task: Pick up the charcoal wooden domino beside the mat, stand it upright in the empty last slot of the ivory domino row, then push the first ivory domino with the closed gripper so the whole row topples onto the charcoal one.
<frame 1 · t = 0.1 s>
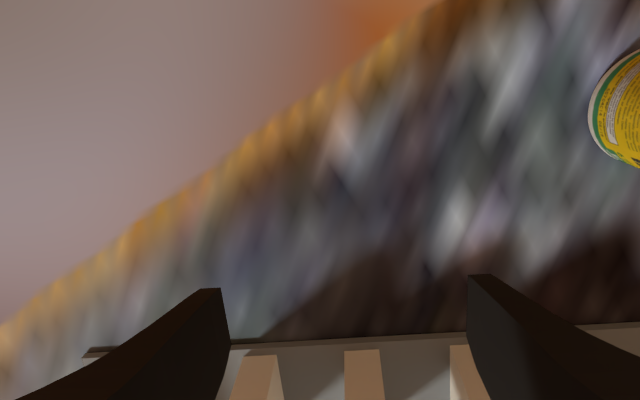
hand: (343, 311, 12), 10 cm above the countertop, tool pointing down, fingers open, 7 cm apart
domino 2: (467, 379, 24), resting on mat
domino 3: (364, 384, 25), resting on mat
domino 4: (266, 389, 25), resting on mat
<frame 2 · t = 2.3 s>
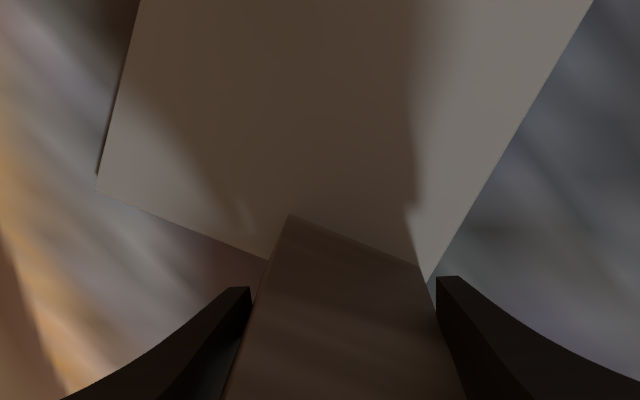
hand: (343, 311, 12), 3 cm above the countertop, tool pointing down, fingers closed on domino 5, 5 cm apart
domino 5: (343, 263, 15), resting on mat, touching gripper
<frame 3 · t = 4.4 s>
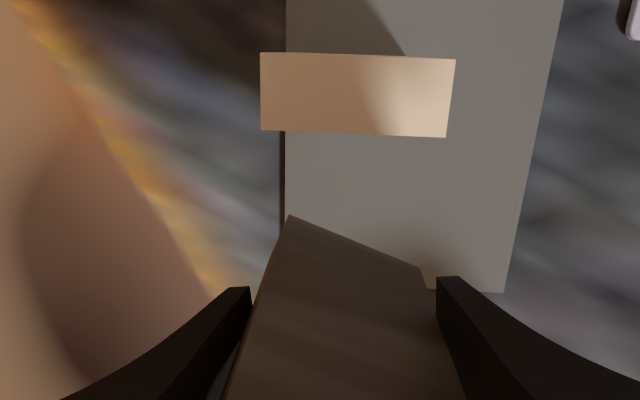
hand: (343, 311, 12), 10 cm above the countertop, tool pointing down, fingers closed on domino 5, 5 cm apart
domino 5: (343, 264, 15), point 7 cm above the countertop, touching gripper
domino 4: (349, 77, 19), resting on mat
when the fingers open (4 cm above the countertop, at t = 6.4 s): domino 5 stays where it is, resting on mat.
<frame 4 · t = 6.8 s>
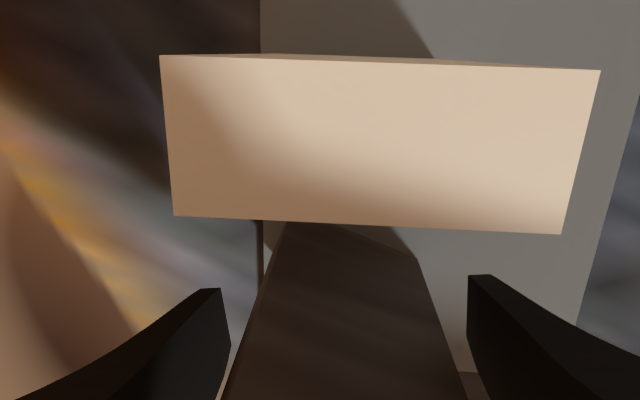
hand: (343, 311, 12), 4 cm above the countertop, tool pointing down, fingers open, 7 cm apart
domino 5: (344, 255, 16), resting on mat
domino 4: (352, 88, 14), resting on mat
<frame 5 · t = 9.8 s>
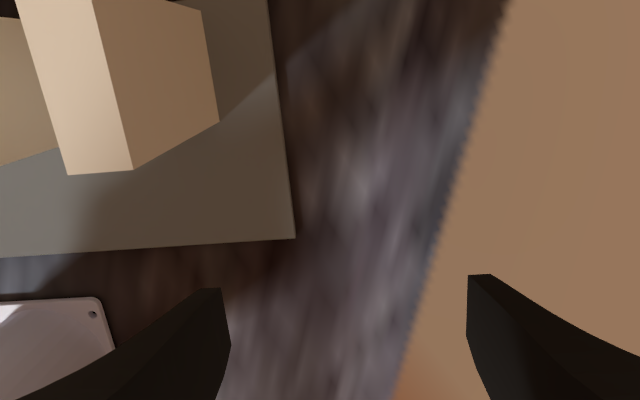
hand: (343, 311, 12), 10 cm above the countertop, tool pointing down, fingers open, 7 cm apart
domino 2: (69, 82, 20), resting on mat
domino 1: (189, 70, 20), resting on mat
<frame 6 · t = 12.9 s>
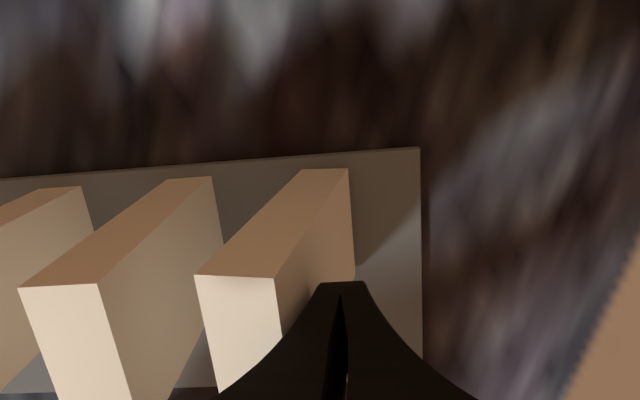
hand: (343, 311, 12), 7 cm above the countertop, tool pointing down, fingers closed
domino 2: (199, 229, 19), resting on mat
domino 1: (329, 223, 19), point 1 cm above the countertop, tilted 11°, touching mat
domino 3: (75, 237, 20), resting on mat
mat: (88, 288, 21), on the countertop
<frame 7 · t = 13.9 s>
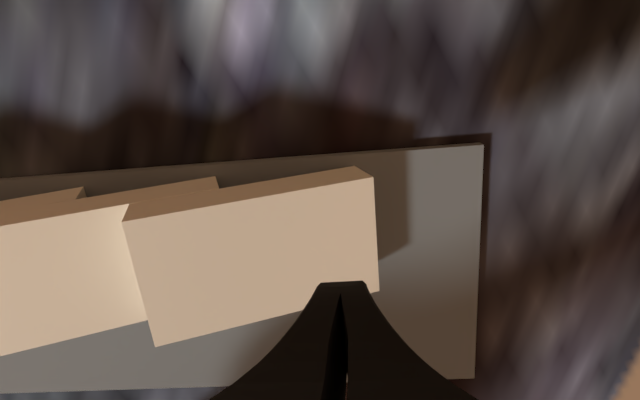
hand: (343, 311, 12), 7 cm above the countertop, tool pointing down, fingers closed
domino 2: (227, 236, 18), point 1 cm above the countertop, tilted 69°, touching domino 1, domino 3
domino 1: (366, 227, 18), point 1 cm above the countertop, tilted 70°, touching domino 2, mat
domino 3: (95, 245, 19), point 1 cm above the countertop, tilted 67°, touching domino 2, domino 4
mat: (138, 285, 21), on the countertop
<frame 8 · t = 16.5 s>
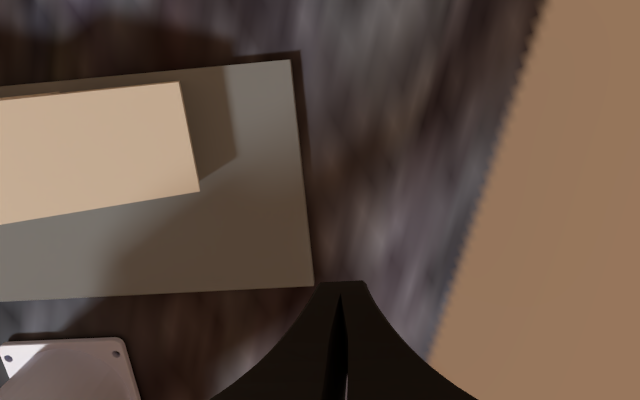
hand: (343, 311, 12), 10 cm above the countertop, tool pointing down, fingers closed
domino 1: (189, 135, 20), point 1 cm above the countertop, tilted 71°, touching domino 2, mat
mat: (7, 201, 23), on the countertop
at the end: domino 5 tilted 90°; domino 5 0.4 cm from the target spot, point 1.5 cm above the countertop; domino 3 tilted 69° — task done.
